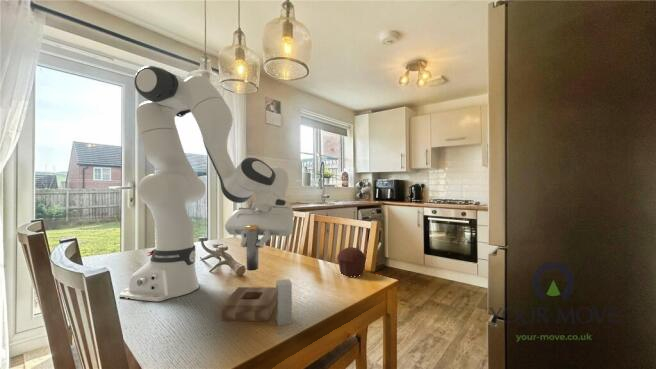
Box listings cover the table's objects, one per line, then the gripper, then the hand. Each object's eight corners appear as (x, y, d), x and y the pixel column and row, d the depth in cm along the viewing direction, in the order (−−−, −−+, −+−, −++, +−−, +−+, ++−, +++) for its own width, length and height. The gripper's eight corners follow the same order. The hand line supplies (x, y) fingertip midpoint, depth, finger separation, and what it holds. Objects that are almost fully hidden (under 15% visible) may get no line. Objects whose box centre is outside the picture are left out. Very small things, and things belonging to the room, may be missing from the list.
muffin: (332, 271, 108) (332, 246, 108) (356, 267, 112) (356, 244, 112) (346, 280, 97) (346, 253, 97) (371, 276, 101) (371, 250, 101)
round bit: (244, 270, 72) (244, 226, 72) (248, 267, 76) (248, 224, 76) (256, 270, 72) (256, 226, 72) (259, 266, 76) (259, 224, 76)
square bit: (278, 325, 66) (278, 285, 66) (276, 319, 69) (276, 280, 69) (291, 323, 67) (291, 283, 67) (289, 317, 70) (289, 279, 70)
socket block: (221, 320, 68) (221, 305, 68) (238, 300, 80) (238, 287, 80) (268, 321, 68) (268, 305, 68) (277, 300, 80) (277, 287, 80)
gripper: (231, 201, 83) (212, 238, 73) (294, 201, 79) (282, 241, 69) (239, 214, 87) (222, 251, 78) (298, 214, 83) (288, 253, 74)
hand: (251, 246), depth 73 cm, fingers closed on round bit, 3 cm apart
